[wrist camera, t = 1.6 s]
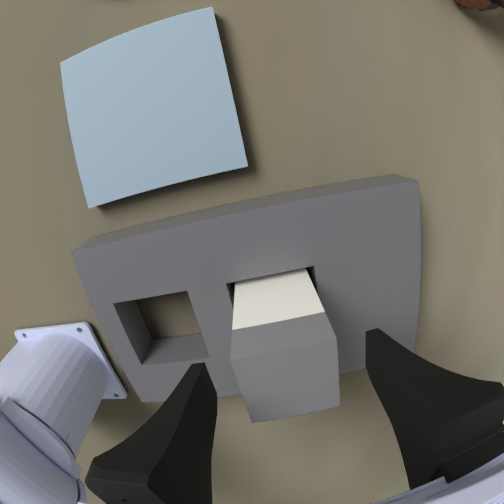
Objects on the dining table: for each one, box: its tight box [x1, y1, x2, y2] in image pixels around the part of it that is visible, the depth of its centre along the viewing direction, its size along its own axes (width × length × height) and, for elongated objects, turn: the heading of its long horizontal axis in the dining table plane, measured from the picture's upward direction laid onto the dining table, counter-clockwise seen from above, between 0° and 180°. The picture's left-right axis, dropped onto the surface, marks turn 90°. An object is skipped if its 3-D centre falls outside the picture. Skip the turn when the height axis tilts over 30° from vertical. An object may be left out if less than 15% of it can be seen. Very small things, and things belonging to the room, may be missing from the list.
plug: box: [230, 268, 340, 423], centre depth 16 cm, size 4×4×9 cm
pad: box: [60, 7, 248, 208], centre depth 15 cm, size 10×10×1 cm
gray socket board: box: [71, 174, 421, 402], centre depth 19 cm, size 20×12×3 cm, turn 102°
